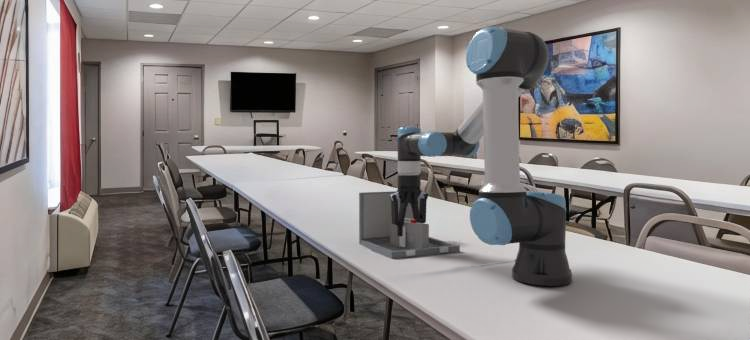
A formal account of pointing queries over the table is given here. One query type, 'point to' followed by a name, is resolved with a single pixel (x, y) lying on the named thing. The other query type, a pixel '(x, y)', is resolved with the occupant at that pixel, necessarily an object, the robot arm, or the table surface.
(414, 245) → the cassette player
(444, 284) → the table surface
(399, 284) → the table surface
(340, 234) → the table surface
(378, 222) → the equipment case
